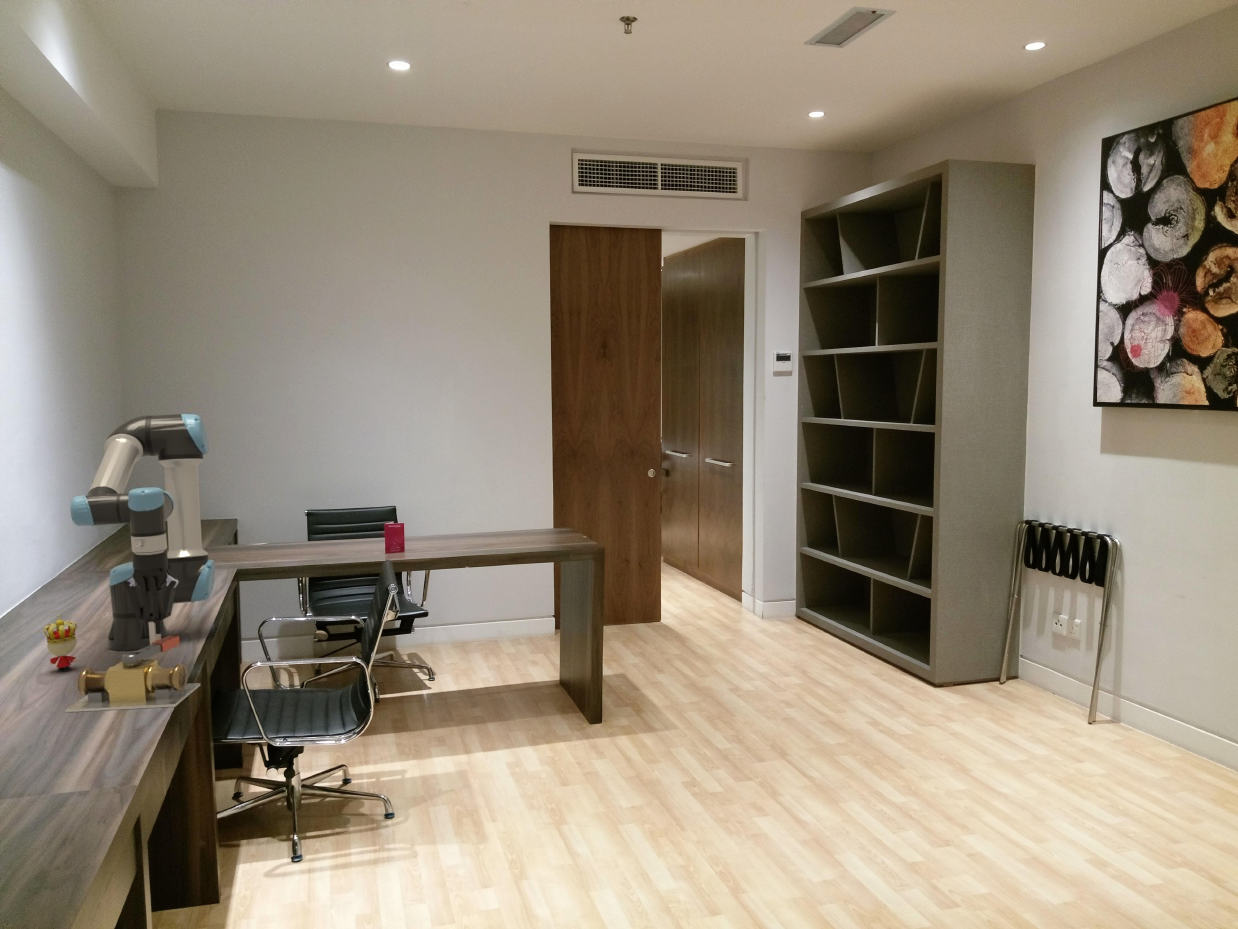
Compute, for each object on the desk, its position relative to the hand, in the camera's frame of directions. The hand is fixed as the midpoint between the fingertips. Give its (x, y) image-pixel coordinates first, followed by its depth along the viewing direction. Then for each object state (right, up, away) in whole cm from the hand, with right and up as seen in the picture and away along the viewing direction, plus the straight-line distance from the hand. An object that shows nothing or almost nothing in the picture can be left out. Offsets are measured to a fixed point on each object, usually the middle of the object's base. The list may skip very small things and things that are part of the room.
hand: (155, 646), depth 215 cm
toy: (-30, -9, +12) cm, 34 cm away
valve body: (0, -10, -10) cm, 14 cm away
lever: (+1, -1, -5) cm, 5 cm away
